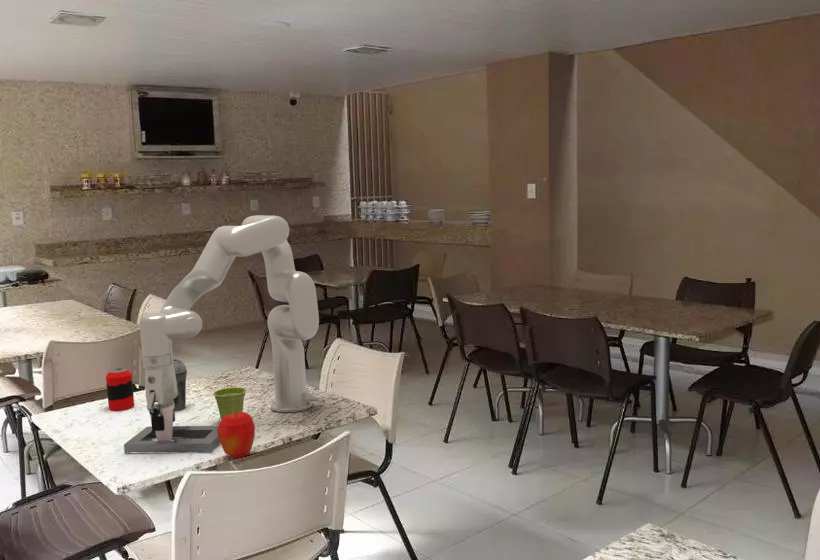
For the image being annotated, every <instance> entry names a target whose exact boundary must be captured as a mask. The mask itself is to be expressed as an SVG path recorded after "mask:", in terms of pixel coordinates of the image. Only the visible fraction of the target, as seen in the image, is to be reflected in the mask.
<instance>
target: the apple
mask: <svg viewBox="0 0 820 560" xmlns="http://www.w3.org/2000/svg"><path fill="white" fill-rule="evenodd" d="M217 426H218V429H217V430H218V436H219V441H220V445H221V448H222V450H223V452H224V454H225V455H227V456H229V457H230V458H232V459H233V460H234V459H236V460H237V459H243V458H245V457H246V456H247V455H248V454H249V453H250V452H251V451H252V448H253V444H254V441H255V438H256V437H255V436H256V435H255V434H256V425H255V422H254V420H253V417H252V416H251V415H250V413H249V414H248V413H247V412H245V411H243V412H238V413H236V411H235V413H232V414H229V415H226V416H224V417H223V418H222V420H221V419H220V420H219V422H218V424H217Z"/></svg>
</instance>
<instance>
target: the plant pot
mask: <svg viewBox="0 0 820 560" xmlns="http://www.w3.org/2000/svg"><path fill="white" fill-rule="evenodd" d="M246 393H247V389H246V388H245V387H240V386H235V387H234V386H233V387H226V388H225V387H224V388H220V389H217V390H215V391H213V393H212V395H213V396H214V399H215V401H216V404H217V408H218V412H219V417H220V421H221V420H222V418H223V417H224V416H226V415H229V414H232V413H235V411H236V413H238V412H244V402H245V401H244V400H245V397H246V395H245V394H246Z"/></svg>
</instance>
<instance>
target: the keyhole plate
mask: <svg viewBox="0 0 820 560" xmlns="http://www.w3.org/2000/svg"><path fill="white" fill-rule="evenodd" d="M217 429H218V425H179V426H177V425H173V432H172V437H184V438H174V439H172V440H171V441H157V440H154V439H157V436H156V432H155V431H152V426H146V427H144V428H143V429H142V430H140V431H139V432H138V433H136V435H134V436H133V437H131V438H130V439H129V440H128V441H126V442H125V443H124V444H123V451H124V454H130V453H129V452H156V453H155V454H158V453H157V452H198V453H199V454H201V453H203V454H204V453H212V452H214V450H215V449H216V448H217V447H218V446H219V445H221V443H220V441H219V436H218V430H217ZM153 438H154V439H153ZM152 439H153V440H152ZM127 452H128V453H127Z"/></svg>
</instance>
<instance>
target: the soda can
mask: <svg viewBox="0 0 820 560" xmlns="http://www.w3.org/2000/svg"><path fill="white" fill-rule="evenodd" d="M132 374H133V373H132V371H130V370H129V369H128V368H124V367H123V368H115V369H111V370H108V373H106V375H105V381H106V383H105V384H106V393H107V404H108V409H109V410H110V411H111V412H121V411H122V410H123V411H127V410H129V409H132V408H134V406H135V397H134V395H135V394H134V386H133V375H132ZM123 411H122V412H123Z"/></svg>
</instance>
